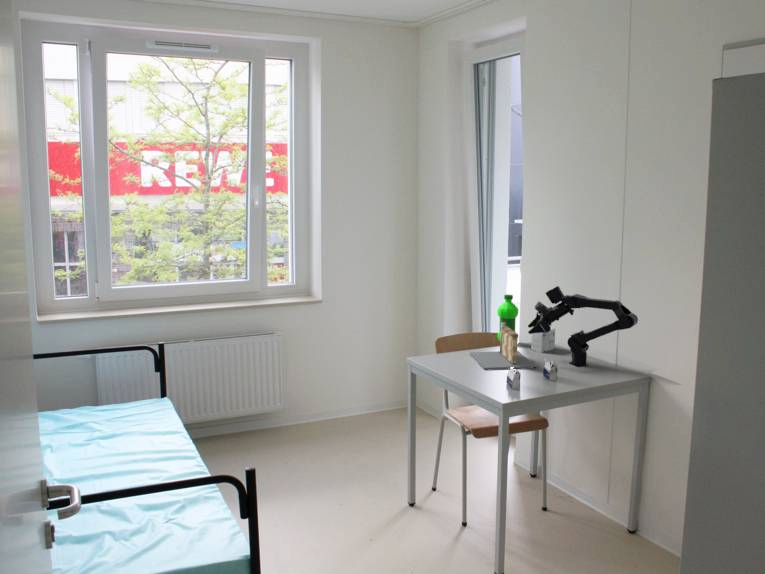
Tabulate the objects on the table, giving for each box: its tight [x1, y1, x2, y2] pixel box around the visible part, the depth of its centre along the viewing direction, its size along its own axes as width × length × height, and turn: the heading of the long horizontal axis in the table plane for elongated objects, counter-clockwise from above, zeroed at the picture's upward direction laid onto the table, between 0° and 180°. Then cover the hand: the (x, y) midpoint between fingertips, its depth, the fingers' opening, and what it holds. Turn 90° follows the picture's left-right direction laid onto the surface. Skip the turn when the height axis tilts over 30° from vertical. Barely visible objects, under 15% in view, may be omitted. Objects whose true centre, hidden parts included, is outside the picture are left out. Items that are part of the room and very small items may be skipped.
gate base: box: [469, 322, 537, 370], centre depth 315 cm, size 24×26×16 cm
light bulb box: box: [530, 327, 556, 353], centre depth 336 cm, size 11×7×11 cm, turn 130°
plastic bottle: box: [497, 294, 519, 342], centre depth 346 cm, size 10×10×25 cm
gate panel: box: [501, 326, 519, 364], centre depth 314 cm, size 17×3×13 cm, turn 7°
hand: (528, 329), depth 317 cm, fingers open, 9 cm apart
